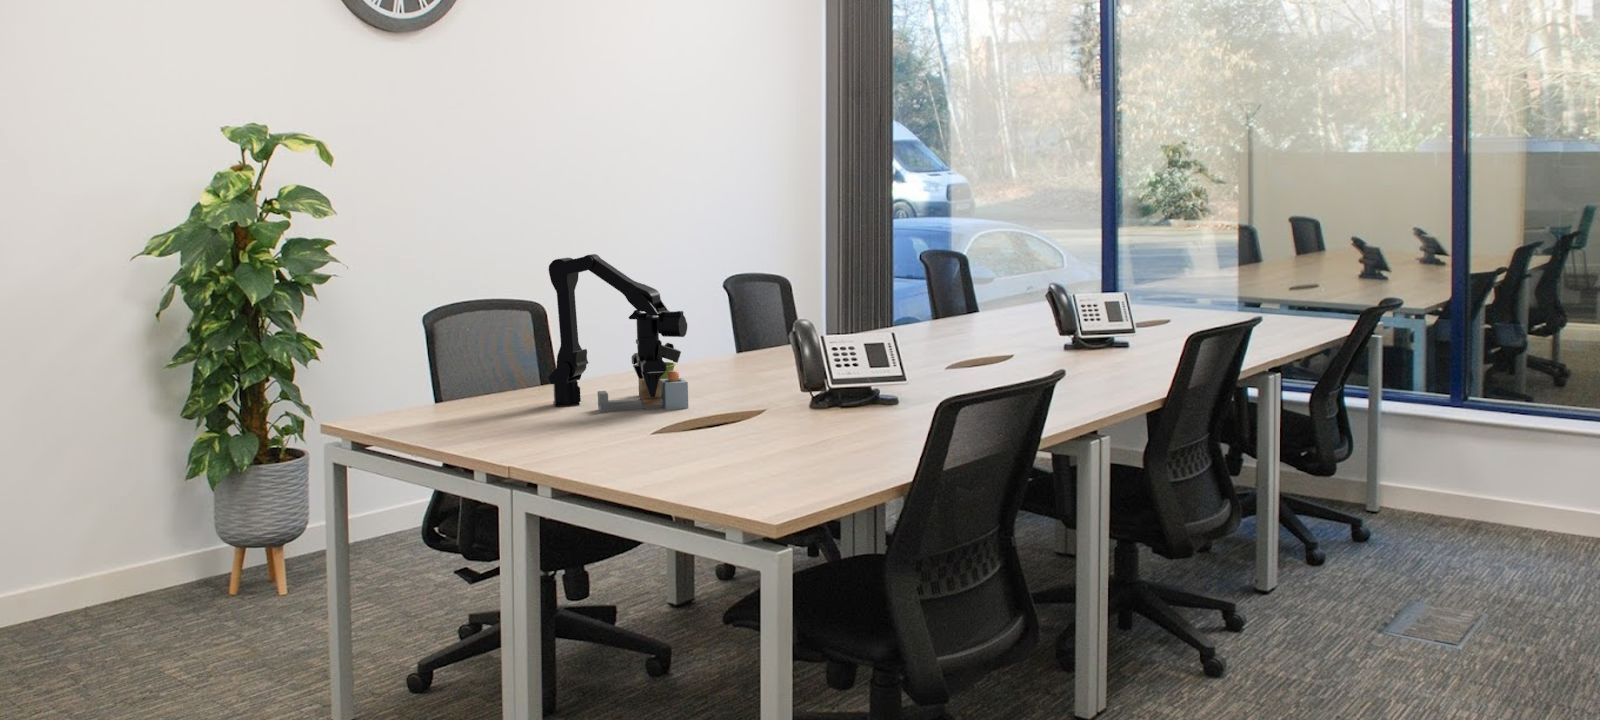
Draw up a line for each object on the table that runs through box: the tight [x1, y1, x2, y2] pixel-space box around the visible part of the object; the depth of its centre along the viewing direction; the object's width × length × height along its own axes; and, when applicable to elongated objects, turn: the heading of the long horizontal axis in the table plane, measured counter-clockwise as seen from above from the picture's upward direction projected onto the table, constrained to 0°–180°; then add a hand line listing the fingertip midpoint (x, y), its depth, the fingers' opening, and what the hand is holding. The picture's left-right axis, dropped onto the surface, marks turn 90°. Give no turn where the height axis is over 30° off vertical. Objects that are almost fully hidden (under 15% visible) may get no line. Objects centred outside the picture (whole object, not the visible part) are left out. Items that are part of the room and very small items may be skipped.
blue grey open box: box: [660, 377, 689, 411], centre depth 367 cm, size 6×8×7 cm
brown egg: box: [668, 370, 680, 382], centre depth 366 cm, size 3×3×4 cm
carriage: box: [638, 378, 661, 406], centre depth 365 cm, size 5×5×6 cm
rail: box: [597, 390, 665, 414], centre depth 364 cm, size 18×5×5 cm, turn 106°
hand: (649, 394), depth 365 cm, fingers open, 9 cm apart
